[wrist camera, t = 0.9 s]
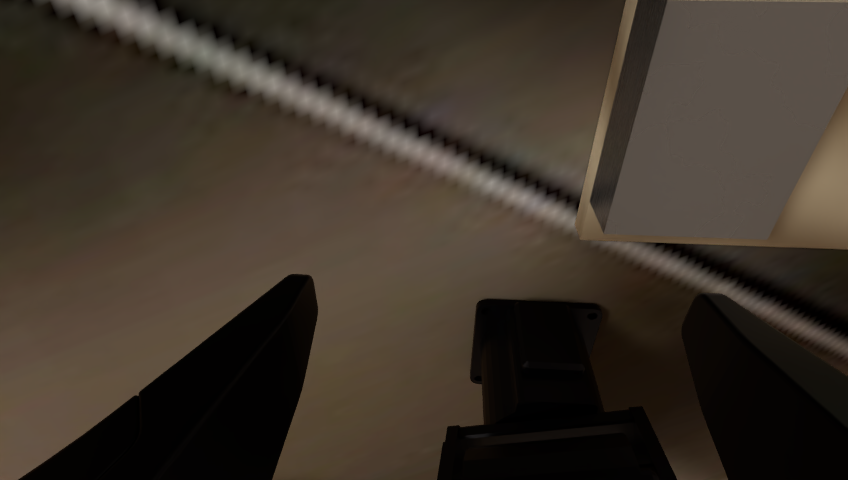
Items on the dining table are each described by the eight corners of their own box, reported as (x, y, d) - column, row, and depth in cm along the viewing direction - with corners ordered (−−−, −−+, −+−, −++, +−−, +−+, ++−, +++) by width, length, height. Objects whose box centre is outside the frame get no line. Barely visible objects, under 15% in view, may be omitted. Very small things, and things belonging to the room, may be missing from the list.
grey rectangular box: (736, 205, 20) (766, 239, 18) (589, 201, 20) (603, 233, 18) (835, -11, 15) (891, 3, 13) (640, -13, 15) (667, 0, 13)
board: (889, 235, 21) (970, 299, 18) (574, 224, 22) (596, 284, 19) (1118, -89, 14) (1324, -85, 11) (645, -90, 15) (701, -87, 12)
